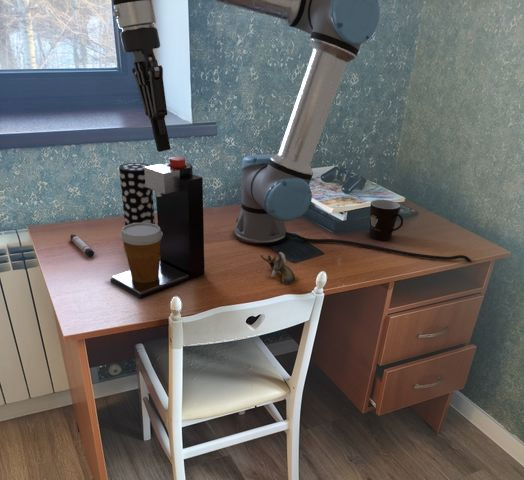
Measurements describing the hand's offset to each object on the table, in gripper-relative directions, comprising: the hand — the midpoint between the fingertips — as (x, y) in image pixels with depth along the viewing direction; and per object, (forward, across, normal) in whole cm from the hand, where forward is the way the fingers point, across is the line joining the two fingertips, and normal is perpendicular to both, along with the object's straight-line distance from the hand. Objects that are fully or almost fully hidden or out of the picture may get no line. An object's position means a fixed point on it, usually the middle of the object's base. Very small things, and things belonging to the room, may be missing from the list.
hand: (164, 150), depth 120 cm
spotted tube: (+26, -27, -3) cm, 38 cm away
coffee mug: (+38, 0, +61) cm, 72 cm away
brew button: (+4, +1, +2) cm, 5 cm away
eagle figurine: (+34, +11, +19) cm, 40 cm away
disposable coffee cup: (+27, +1, -12) cm, 29 cm away
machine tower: (+29, -2, -1) cm, 30 cm away
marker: (+24, -27, -20) cm, 42 cm away
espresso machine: (+29, +1, -10) cm, 30 cm away
